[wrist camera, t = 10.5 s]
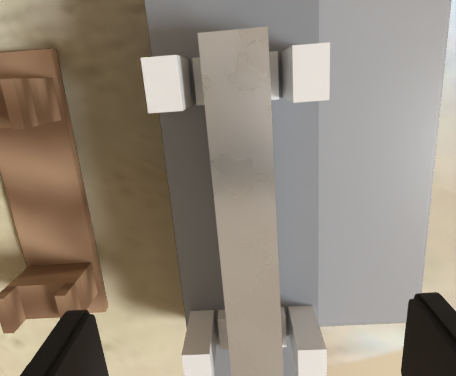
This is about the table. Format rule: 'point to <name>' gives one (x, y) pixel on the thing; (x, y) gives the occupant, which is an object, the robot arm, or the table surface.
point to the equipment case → (309, 161)
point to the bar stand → (44, 195)
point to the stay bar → (244, 194)
